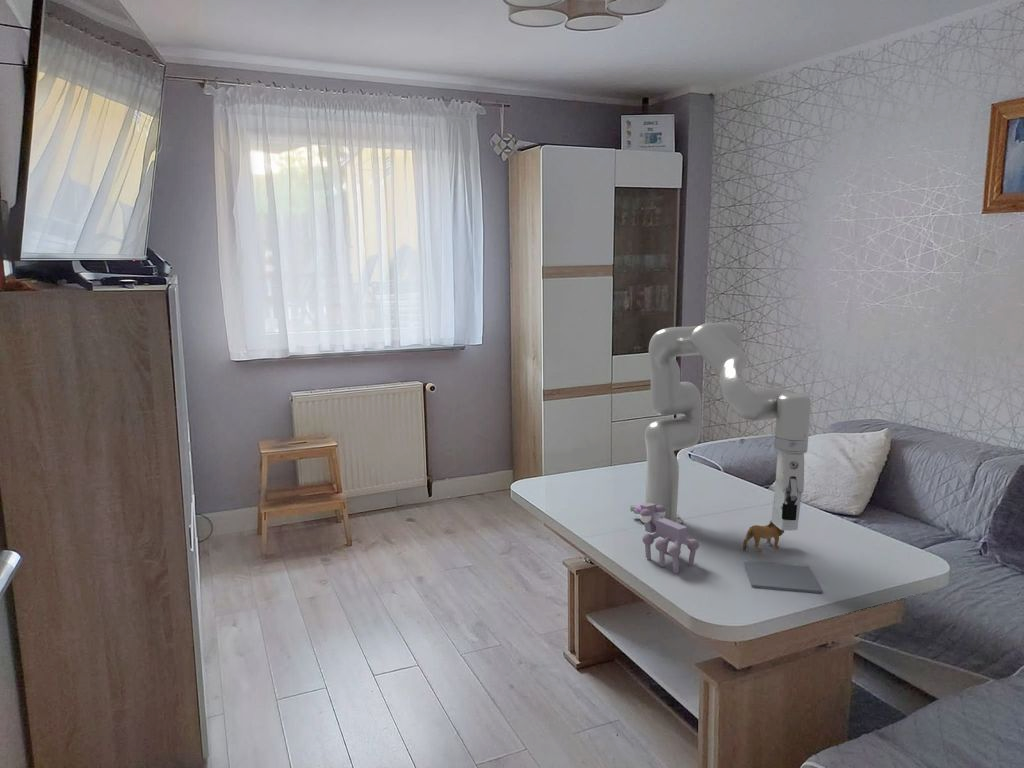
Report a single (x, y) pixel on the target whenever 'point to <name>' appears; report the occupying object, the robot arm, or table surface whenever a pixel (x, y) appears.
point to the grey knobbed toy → (665, 534)
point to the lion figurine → (763, 535)
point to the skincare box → (777, 509)
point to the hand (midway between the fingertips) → (785, 513)
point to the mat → (781, 577)
